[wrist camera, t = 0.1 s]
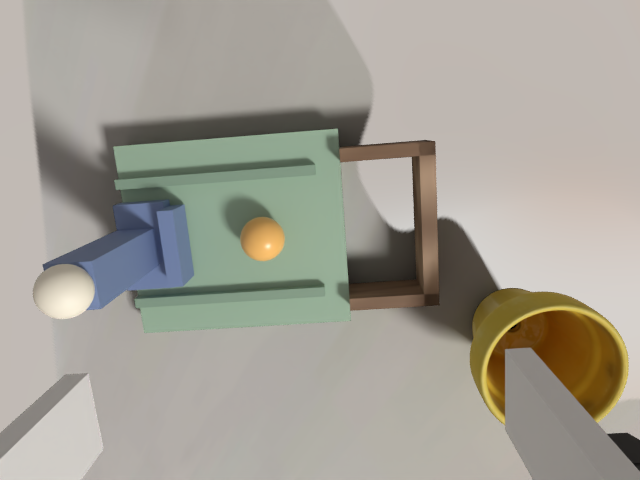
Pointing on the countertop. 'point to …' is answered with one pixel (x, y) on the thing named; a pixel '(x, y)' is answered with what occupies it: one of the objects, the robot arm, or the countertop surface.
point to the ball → (262, 238)
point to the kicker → (119, 261)
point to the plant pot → (548, 347)
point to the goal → (425, 224)
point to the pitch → (232, 215)
